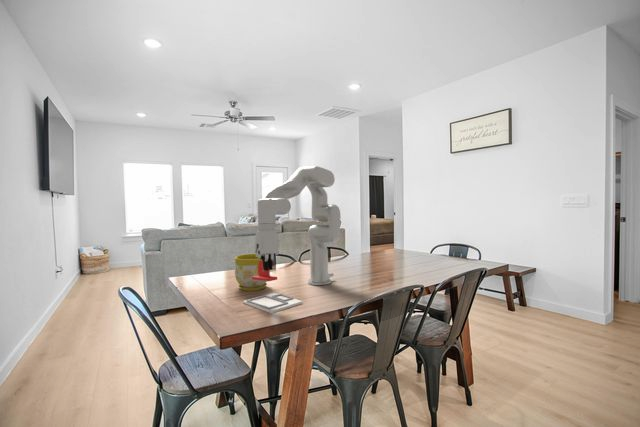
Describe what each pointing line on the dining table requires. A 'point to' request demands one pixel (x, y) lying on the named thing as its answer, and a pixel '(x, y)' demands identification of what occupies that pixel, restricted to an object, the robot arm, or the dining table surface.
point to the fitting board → (272, 302)
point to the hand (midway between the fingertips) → (267, 269)
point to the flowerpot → (248, 272)
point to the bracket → (263, 274)
